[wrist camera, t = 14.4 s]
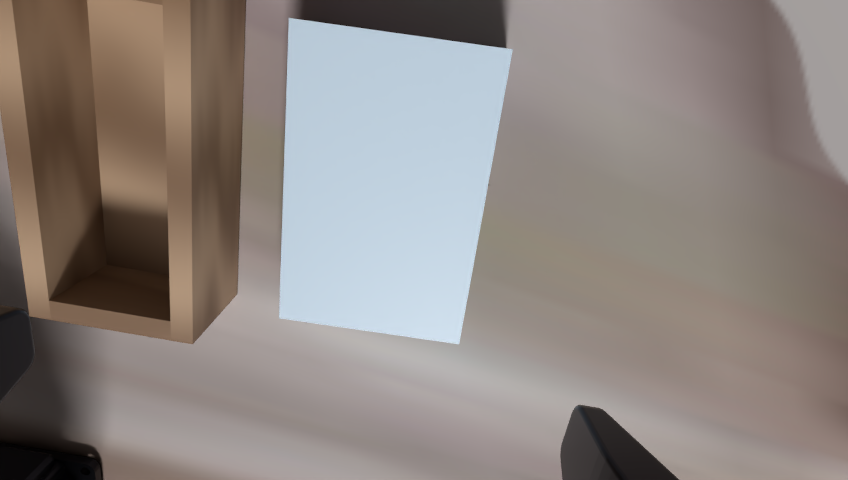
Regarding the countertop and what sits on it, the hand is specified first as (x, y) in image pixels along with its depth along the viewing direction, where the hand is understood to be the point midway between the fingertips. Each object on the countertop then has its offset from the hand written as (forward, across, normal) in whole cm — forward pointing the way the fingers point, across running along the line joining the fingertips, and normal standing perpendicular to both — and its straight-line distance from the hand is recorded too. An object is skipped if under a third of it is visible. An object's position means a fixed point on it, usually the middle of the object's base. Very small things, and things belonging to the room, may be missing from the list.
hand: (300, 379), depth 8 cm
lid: (+13, 0, 0) cm, 13 cm away
